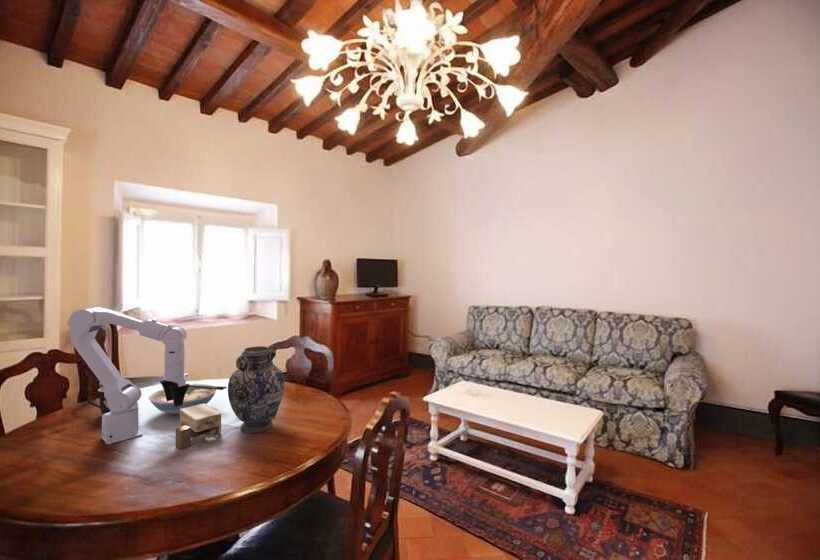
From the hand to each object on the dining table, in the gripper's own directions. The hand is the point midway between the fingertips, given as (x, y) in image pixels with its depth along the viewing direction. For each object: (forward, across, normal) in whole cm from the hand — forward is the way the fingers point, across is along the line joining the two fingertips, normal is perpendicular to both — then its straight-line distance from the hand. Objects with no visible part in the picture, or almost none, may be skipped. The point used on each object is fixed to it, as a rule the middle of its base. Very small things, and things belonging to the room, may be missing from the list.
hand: (174, 402), depth 129 cm
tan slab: (+10, -6, -6) cm, 13 cm away
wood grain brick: (+10, -13, -2) cm, 17 cm away
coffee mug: (+10, +35, +11) cm, 38 cm away
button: (+10, -15, -6) cm, 19 cm away
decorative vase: (+10, -16, -21) cm, 28 cm away
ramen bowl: (+10, +18, -9) cm, 23 cm away
